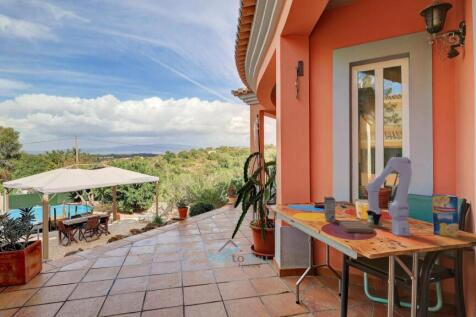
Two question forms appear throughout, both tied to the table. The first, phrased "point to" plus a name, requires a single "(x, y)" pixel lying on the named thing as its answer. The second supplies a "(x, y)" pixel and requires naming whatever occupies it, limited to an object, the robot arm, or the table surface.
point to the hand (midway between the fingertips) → (373, 223)
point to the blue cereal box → (445, 215)
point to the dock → (354, 226)
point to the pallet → (373, 223)
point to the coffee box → (329, 208)
